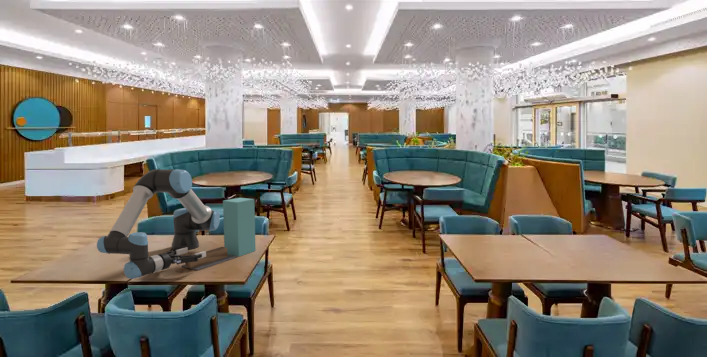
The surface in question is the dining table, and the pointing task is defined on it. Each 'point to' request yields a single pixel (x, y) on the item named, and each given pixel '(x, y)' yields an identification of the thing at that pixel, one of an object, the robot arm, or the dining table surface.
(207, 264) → the charcoal mat
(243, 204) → the teal pedestal
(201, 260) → the walnut rail
